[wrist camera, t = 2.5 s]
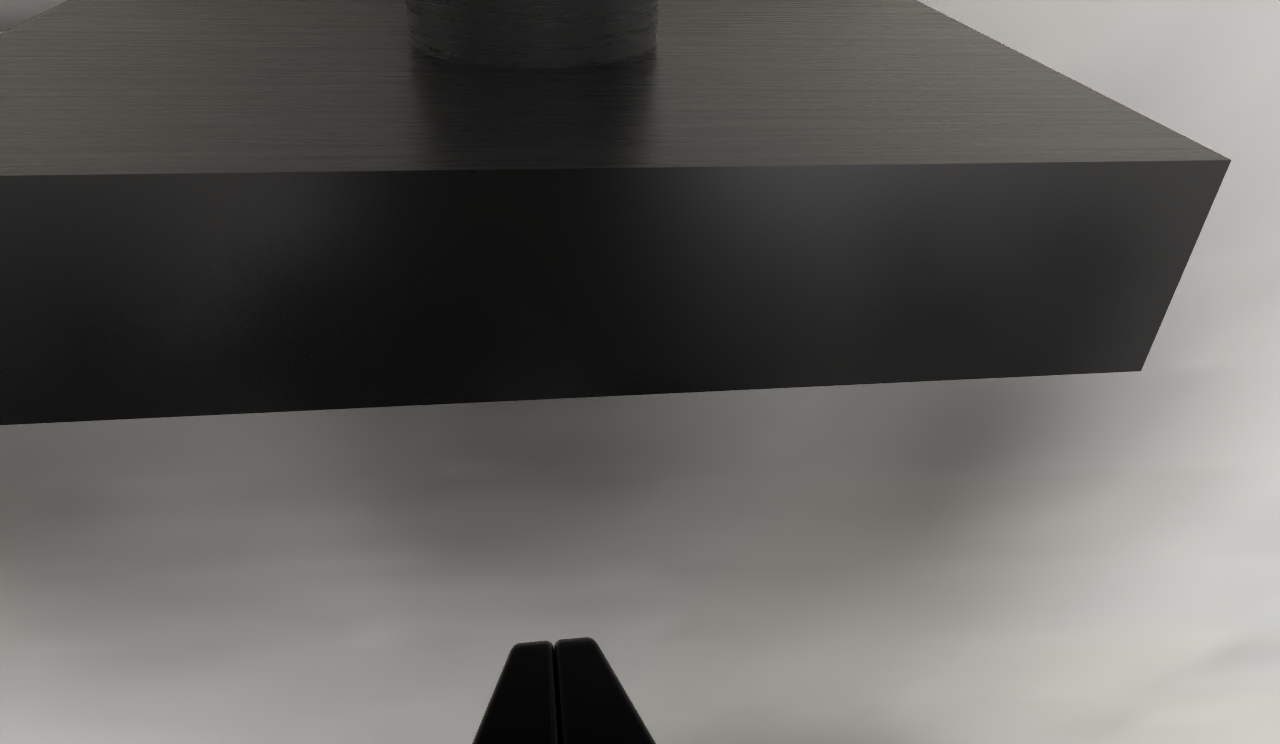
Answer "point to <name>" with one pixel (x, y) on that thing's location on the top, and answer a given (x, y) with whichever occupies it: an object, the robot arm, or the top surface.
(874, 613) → the top surface
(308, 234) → the gauge plunger
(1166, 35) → the top surface
